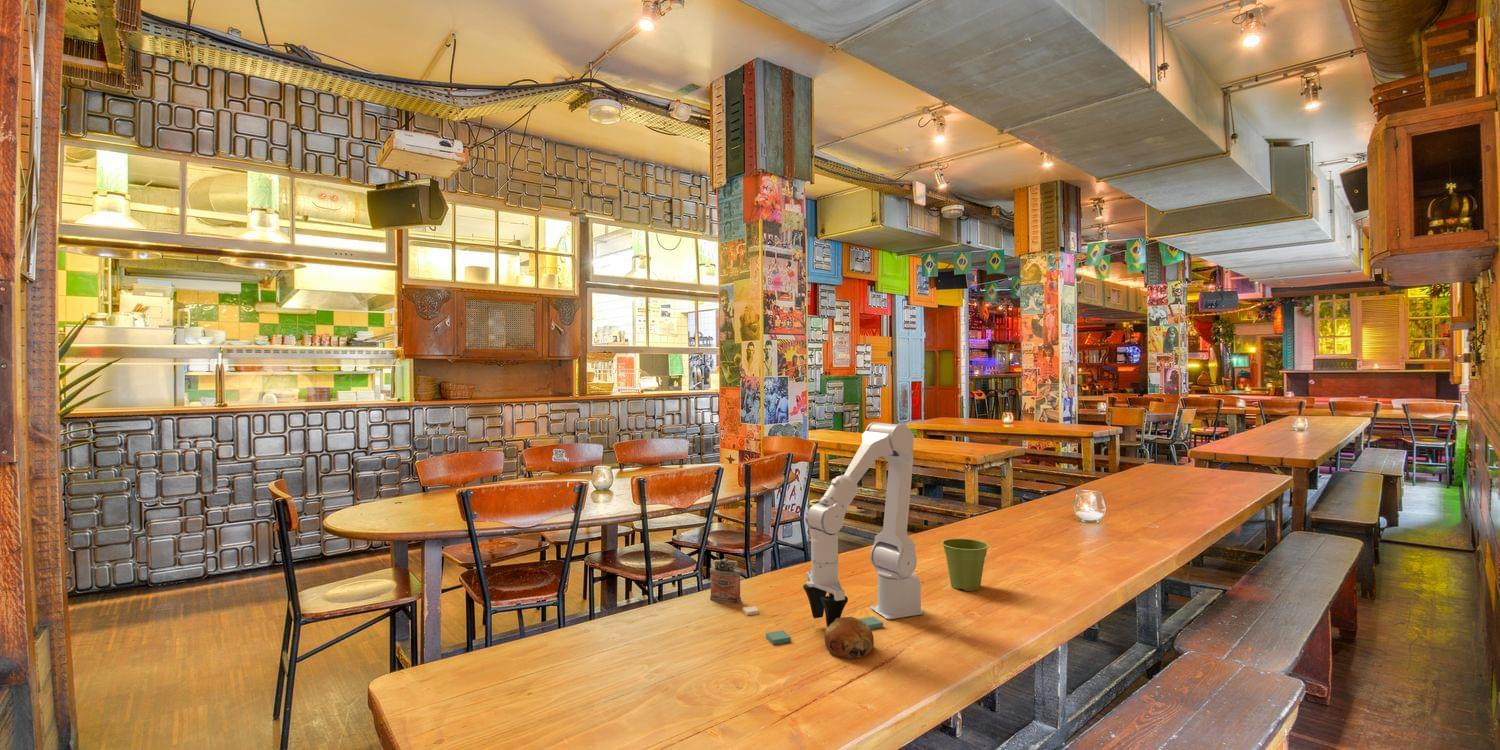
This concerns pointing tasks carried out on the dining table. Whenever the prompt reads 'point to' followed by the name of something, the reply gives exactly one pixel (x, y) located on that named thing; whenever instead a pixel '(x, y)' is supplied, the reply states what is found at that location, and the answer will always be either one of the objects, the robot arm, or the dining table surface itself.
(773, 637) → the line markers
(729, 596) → the lighter
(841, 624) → the bread roll
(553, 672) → the dining table surface
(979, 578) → the plant pot
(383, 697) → the dining table surface
